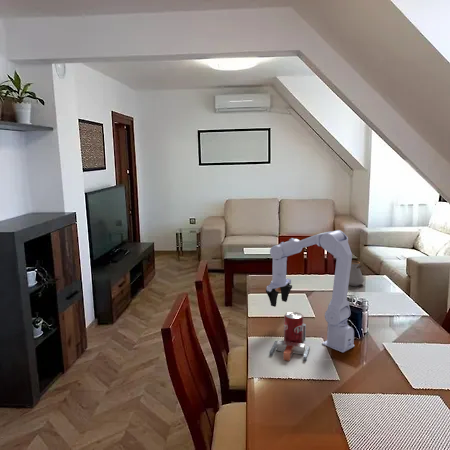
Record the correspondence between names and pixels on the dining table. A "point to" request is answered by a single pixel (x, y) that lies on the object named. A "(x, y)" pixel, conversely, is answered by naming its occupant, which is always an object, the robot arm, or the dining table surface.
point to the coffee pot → (355, 274)
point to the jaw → (290, 348)
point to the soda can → (293, 327)
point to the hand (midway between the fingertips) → (278, 303)
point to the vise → (303, 339)
